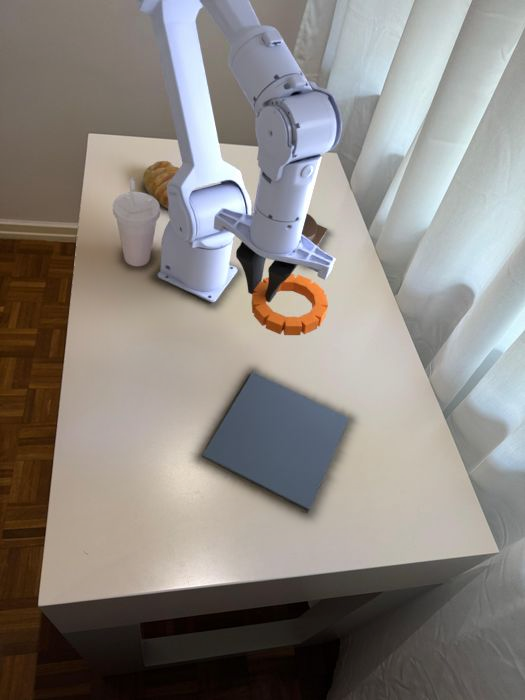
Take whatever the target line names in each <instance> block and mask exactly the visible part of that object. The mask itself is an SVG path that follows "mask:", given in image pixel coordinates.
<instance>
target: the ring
mask: <svg viewBox="0 0 525 700" xmlns="http://www.w3.org/2000/svg"><path fill="white" fill-rule="evenodd" d="M268 281H269V276H267V277H265V278H262V280H261V281H260V283H259V284H258V285H257V287H256V288H255V289H254V291H253V293H252V294H251V312H252V314H253V317H254V318H255V319H256V321H258V323H259V324H260V325H261V327H265V329H267V330H268V331H271V332H273V333H275V334H278V335H282V333H283V335H284V336H301V334H303V335H306V334H308V333H311V332H313V331H315V330H317V329H318V327H320V326H321V325H322V323H323V321H324V320H325V318H326V316H327V313H328V308H329V304H328V298H327V294H326V293H325V290H324V289H323V288H322V287H321V286H320V285H319V284H318V283H317V282H315V281H314V282H313V279H310V278H308V277H306V276H303V275H300V274H297V276H295V273H292V274H291V275H290V276H289V277H288V278H287V279H286V280H285V281H284V282H283V283H281V284H280V286H279V288H278V290H277V293H279V292H294V293H297V294H299V295H300V296H304V297H305V298H306V299H307V301H308V302H309V303H310V304H311V310H310V312H307V313H304V314H303V315H300V316H285V315H283V314H280V313H278V312H275V311H274V310H273V309H272V308H271V306H269V305H268V304H267V301H266V297H265V294H266V291H267V287H268Z"/></svg>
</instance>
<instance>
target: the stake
mask: <svg viewBox="0 0 525 700" xmlns="http://www.w3.org/2000/svg"><path fill="white" fill-rule="evenodd" d="M327 232H328V228H327V227H325V226H323V225H320V224H317V221H316V220H315V218H314V217H313V216H312V215H310V214H309V213H307V214H306V218H305V222H304V225H303V229H302V233H301V234H302V235H303V236H305V237H306V238H307V239H308V240H310V241H311V242H312V243H314V244H315V245H316V246H317V247H319V245H320V244H321V242H322V241H323V239H324V238H325V236H326V234H327Z"/></svg>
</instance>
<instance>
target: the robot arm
mask: <svg viewBox="0 0 525 700" xmlns="http://www.w3.org/2000/svg"><path fill="white" fill-rule="evenodd" d="M135 1H136V6H137V9H138V10H139V11H140V12H142V13H144V14H146V15H148V16H149V17H150V22H151V26H152V30H153V35H154V39H155V44H156V49H157V53H158V57H159V63H160V67H161V71H162V76H163V80H164V81H163V82H164V85H165V89H166V94H167V98H168V103H169V108H170V113H171V117H172V122H173V126H174V131H175V136H176V139H177V140H176V141H177V144H178V149H179V153H180V158H181V163H182V164H181V166H180V167H178V168H179V170H178V171H177V172H176V174H175V175H174V176H173V177H172V179H171V180H170V181H169V183H168V184H167V194H168V201H169V206H168V208H167V209H168V211H167V212H168V218H169V221H168V222H167V224H166V225H165V228H164V231H163V233H162V238H161V245H160V271H158V273H157V278H158V279H161V280H163V281H165V282H167V283H169V284H171V285H174V286H175V287H178V288H180V289H181V290H184V291H186V292H187V293H190V294H193V295H195V296H196V297H199V298H201V299H203V300H206V301H208V302H210V303H215V302H216V301H217V300H218V298H219V297H220V296H221V295H222V293H223V292H224V290H225V289H226V288H227V286H228V285H229V284H230V282H231V281H232V280H233V278H234V277H235V276H236V274H237V273H238V268H237V267H236V266H233V265H232V264H230V261H231V256H232V255H231V254H232V248H233V243H234V238H238V239H239V240H240V241H241V242H240V245H239V246H238V247H237V249H236V252H235V257H236V259H237V260H238V262H239V264H240V266H241V267H242V269H243V273H244V276H245V280H246V286H247V292H248V294H250V295H252V293H253V291H254V289H255V288H256V287H257V285H258V284H259V283H260V281H263V274H264V269H265V265H266V264H265V263H266V260H267V259H268V260H273V261H272V263H271V264H270V266H268V269H267V271H268V277H269V281H268V287H267V291H266V294H265V297H266V303H271V302H272V300H273V299H274V297H275V296H276V295H277V293H278V292H277V290H278V288H279V286H280V284H281V283H283V282H284V281H285V280H286V279H287V278H288V277H289V276H290V275H291V274H293V273H294V271H295V270H296V268H297V267H298V266H303V267H305V268H308V269H309V270H312V271H314V272H317V274H316V276H317V277H318V278H319V279H322V280H325V281H326V279H327V278H328V277H329V275H330V274H331V272H332V270H333V268H334V265H335V261H336V257H334V256H332V255H331V254H329V253H327V252H325V251H324V250H322V249H321V248H320V247H319V246H318V247H317V246H316V245H315V244H314V243H312V242H311V241H310V240H308V239H307V238H306V237H305V236H303V235H302V234H301V233H302V229H303V225H304V222H305V218H306V214H308V211H309V206H310V203H311V199H312V196H313V191H314V187H315V184H316V181H317V176H318V172H319V169H320V165H321V161H322V158H323V157H322V155H323V154H325V153H327V152H330V151H332V150H334V149H335V148H336V147H337V145H338V144H339V142H340V139H341V137H342V131H343V120H342V115H341V114H342V113H341V110H340V107H339V104H338V103H337V101H336V98H335V96H334V94H333V93H332V92H331V91H330V90H328V89H326V88H325V87H320V86H318V85H317V84H316V82H315V81H312V80H310V81H309V80H307V78H306V76H305V74H304V72H303V71H302V69H301V67H300V66H299V64H298V63H297V61H296V59H295V58H294V56H293V54H292V52H291V50H290V49H289V47H288V46H287V44H286V42H285V41H284V38H283V36H282V35H281V33H280V32H279V30H277V28H276V27H274V26H271V25H264V24H262V25H261V23H260V20H259V18H258V17H257V14H256V12H255V10H254V8H253V5H252V4H251V2H250V0H135ZM202 8H204V10H205V11H206V13H207V14H208V15H209V17H210V18H211V20H212V21H213V23H214V25H215V26H216V27H217V29H218V30H219V32H220V33H221V34H222V36H223V37H224V39H225V40H226V42H227V44H228V45H229V46H230V49H229V50H228V51H229V52H228V55H227V64H228V67H229V69H230V71H231V73H232V75H233V77H234V78H235V80H236V82H237V83H238V85H239V87H240V89H241V91H242V93H243V95H244V97H246V99H247V101H248V103H249V104H250V107H251V108H252V110H253V112H254V114H255V119H254V129H255V137H256V141H257V146H258V147H257V158H256V160H257V166H258V167H259V169H260V170H259V175H258V176H259V177H258V182H257V188H256V193H255V200H254V204H253V205H254V206H253V210H252V201H251V198H250V195H249V193H248V190H247V188H246V187H245V183H244V180H243V177H242V176H243V175H242V171H241V170H240V169H238V168H237V167H236V166H234V165H232V164H230V163H229V162H228V161H225V160H224V159H223V158H222V152H221V149H220V148H221V147H220V143H219V137H218V132H217V127H216V122H215V116H214V111H213V106H212V101H211V96H210V91H209V85H208V81H207V80H208V79H207V75H206V71H205V65H204V60H203V54H202V49H201V43H200V39H199V34H198V33H199V32H198V27H197V23H196V22H197V21H196V20H197V16H198V15H199V11H200V9H202Z"/></svg>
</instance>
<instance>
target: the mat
mask: <svg viewBox="0 0 525 700" xmlns="http://www.w3.org/2000/svg"><path fill="white" fill-rule="evenodd" d="M349 419H350V418H349V417H348V416H345V415H344V414H341V413H339V412H337V411H335V410H333V409H331V408H328V407H327V406H325V405H323V404H320V403H319V402H316V401H314V400H313V399H310V398H308V397H306V396H304V395H302V394H300V393H297V392H296V391H293V390H291V389H289V388H287V387H286V386H284V385H281V384H278V383H276V382H275V381H273V380H271V379H268V378H267V377H265V376H262V375H260V374H258V373H257V372H254V371H252V372H251V373H250V375H249V377H248V378H247V380H246V382H245V384H244V385H243V387H242V388H241V390H240V392H239V393H238V395H237V397H236V399H235V400H234V401H233V403H232V405H231V407H230V408H229V410H228V412H227V413H226V415H225V417H224V418H223V420H222V421H221V424H220V425H219V427H218V429H217V430H216V432H215V433H214V435H213V437H212V438H211V440H210V442H209V444H208V445H207V447H206V448H205V450H204V451H203V453H202V458H204V459H206V460H208V461H210V462H212V463H214V464H216V465H218V466H220V467H222V468H224V469H226V470H228V471H230V472H232V473H233V474H236V475H238V476H239V477H242V478H244V479H245V480H248V481H249V482H251V483H253V484H255V485H257V486H260V487H261V488H263V489H265V490H267V491H269V492H271V493H273V494H275V495H277V496H279V497H281V498H283V499H285V500H287V501H289V502H290V503H293V504H295V505H296V506H298V507H301V508H302V509H304V510H306V511H310V510H311V507H312V506H313V503H314V500H315V498H316V497H317V494H318V491H319V490H320V487H321V484H322V482H323V480H324V477H325V475H326V473H327V471H328V468H329V466H330V463H331V461H332V460H333V456H334V454H335V452H336V450H337V448H338V445H339V442H340V440H341V438H342V436H343V433H344V431H345V429H346V426H347V424H348V421H349Z"/></svg>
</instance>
